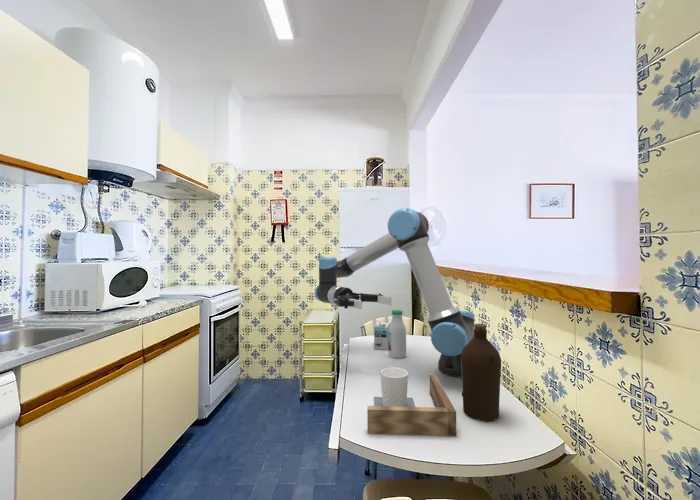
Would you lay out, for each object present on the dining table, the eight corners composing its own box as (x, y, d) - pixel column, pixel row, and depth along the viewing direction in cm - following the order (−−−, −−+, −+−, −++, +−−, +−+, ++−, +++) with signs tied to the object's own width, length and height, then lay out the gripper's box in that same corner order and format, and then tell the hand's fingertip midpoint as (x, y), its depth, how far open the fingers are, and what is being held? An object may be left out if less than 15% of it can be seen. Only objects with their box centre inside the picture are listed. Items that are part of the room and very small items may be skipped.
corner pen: (435, 393, 103) (435, 374, 103) (456, 436, 79) (456, 411, 79) (367, 391, 105) (367, 373, 105) (367, 433, 81) (367, 409, 81)
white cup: (401, 415, 89) (401, 379, 89) (376, 408, 93) (376, 373, 93) (412, 404, 95) (412, 370, 95) (388, 397, 100) (387, 365, 100)
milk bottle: (408, 355, 142) (408, 310, 142) (401, 360, 135) (401, 312, 136) (392, 352, 146) (392, 308, 146) (385, 357, 140) (385, 311, 140)
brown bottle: (507, 413, 90) (507, 324, 91) (491, 427, 83) (491, 331, 83) (471, 400, 98) (471, 319, 98) (453, 412, 91) (453, 324, 91)
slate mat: (412, 398, 100) (412, 397, 100) (418, 418, 88) (418, 417, 88) (373, 397, 100) (373, 396, 100) (374, 417, 88) (374, 416, 88)
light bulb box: (388, 350, 149) (388, 327, 149) (373, 349, 151) (373, 326, 151) (390, 343, 160) (389, 322, 160) (376, 343, 161) (376, 321, 161)
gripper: (365, 302, 136) (401, 309, 119) (314, 309, 121) (347, 318, 104) (365, 285, 136) (401, 289, 119) (313, 289, 121) (347, 295, 104)
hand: (376, 303), depth 111 cm, fingers open, 13 cm apart
